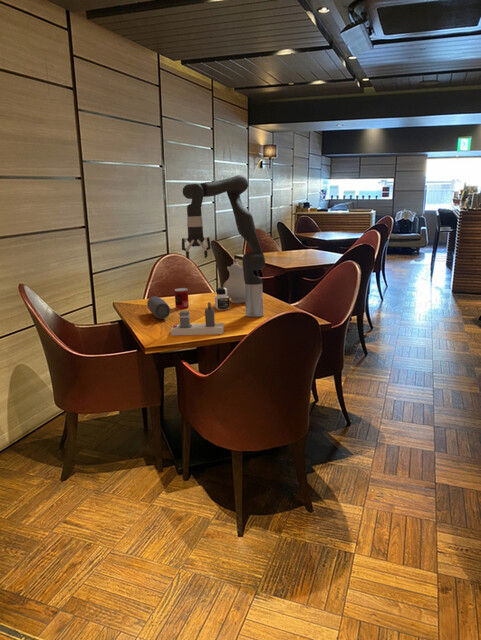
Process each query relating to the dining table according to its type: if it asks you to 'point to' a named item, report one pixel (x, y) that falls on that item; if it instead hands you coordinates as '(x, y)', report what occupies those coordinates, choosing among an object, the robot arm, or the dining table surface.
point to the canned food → (181, 298)
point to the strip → (201, 326)
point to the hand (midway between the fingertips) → (196, 258)
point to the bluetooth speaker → (158, 307)
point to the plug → (184, 319)
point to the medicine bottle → (222, 299)
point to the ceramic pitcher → (235, 283)
